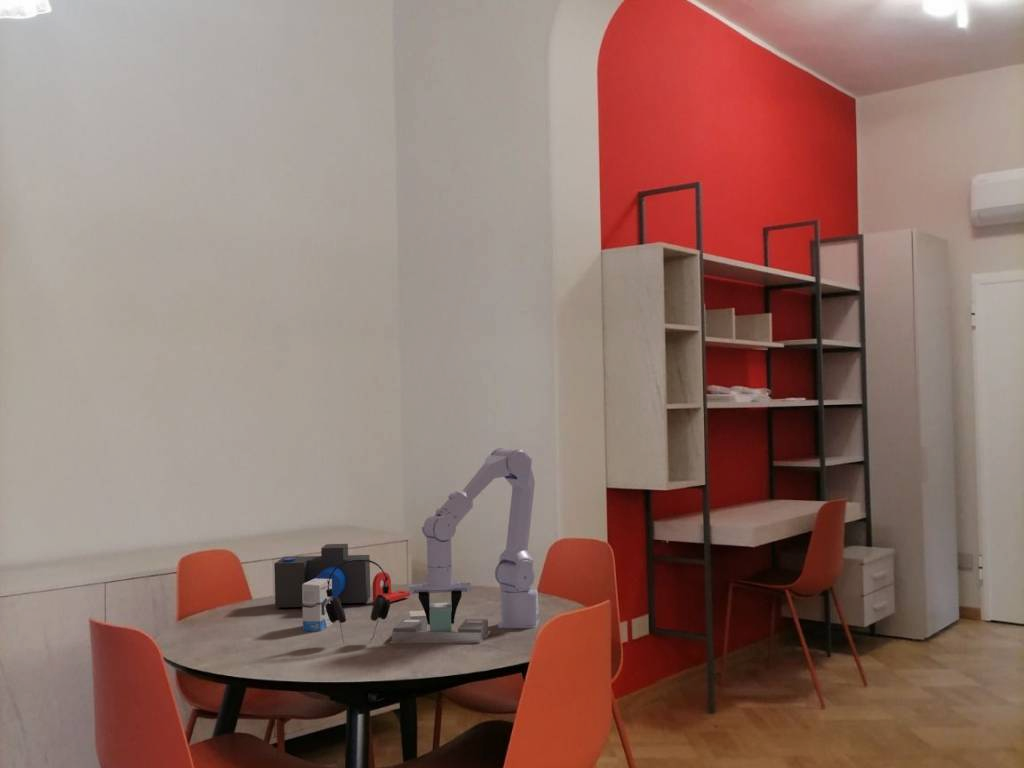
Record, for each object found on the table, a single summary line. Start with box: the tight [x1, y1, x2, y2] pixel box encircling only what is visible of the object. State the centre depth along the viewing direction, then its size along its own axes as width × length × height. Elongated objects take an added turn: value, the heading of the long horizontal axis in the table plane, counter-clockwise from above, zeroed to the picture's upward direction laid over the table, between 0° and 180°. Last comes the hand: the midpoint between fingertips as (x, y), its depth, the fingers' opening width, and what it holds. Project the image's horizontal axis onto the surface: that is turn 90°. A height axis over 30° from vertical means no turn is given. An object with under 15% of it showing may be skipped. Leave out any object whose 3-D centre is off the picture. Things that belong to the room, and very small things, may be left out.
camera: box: [273, 543, 371, 608], centre depth 266 cm, size 25×16×16 cm, turn 89°
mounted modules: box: [392, 618, 489, 642], centre depth 223 cm, size 21×10×3 cm, turn 82°
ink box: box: [302, 578, 334, 632], centre depth 238 cm, size 8×5×12 cm, turn 168°
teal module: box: [429, 601, 453, 631], centre depth 223 cm, size 5×8×6 cm, turn 3°
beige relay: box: [409, 609, 428, 630], centre depth 234 cm, size 4×6×4 cm, turn 8°
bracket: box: [372, 571, 411, 603], centre depth 272 cm, size 12×4×8 cm, turn 148°
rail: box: [391, 630, 483, 644], centre depth 218 cm, size 21×1×2 cm, turn 82°
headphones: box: [325, 559, 392, 643], centre depth 222 cm, size 15×11×20 cm
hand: (440, 623), depth 223 cm, fingers closed on teal module, 5 cm apart
